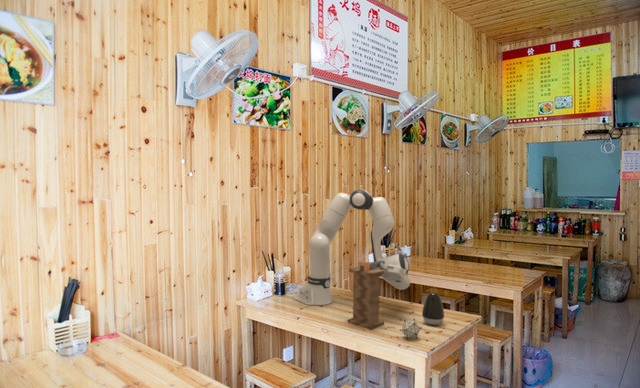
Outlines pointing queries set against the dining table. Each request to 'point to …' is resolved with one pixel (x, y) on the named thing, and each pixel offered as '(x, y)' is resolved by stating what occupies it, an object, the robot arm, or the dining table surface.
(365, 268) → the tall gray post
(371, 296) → the walnut stand
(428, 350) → the dining table surface
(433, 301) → the pump dispenser
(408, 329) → the game die
